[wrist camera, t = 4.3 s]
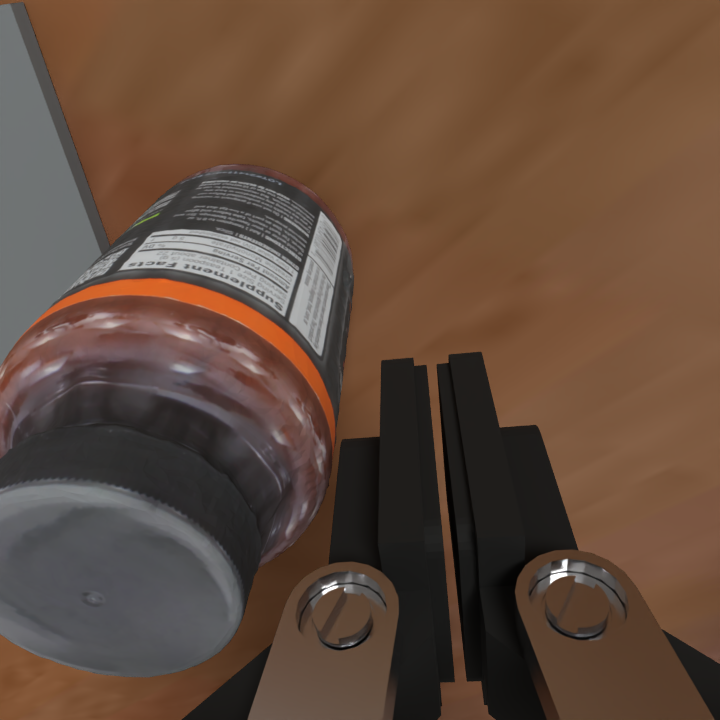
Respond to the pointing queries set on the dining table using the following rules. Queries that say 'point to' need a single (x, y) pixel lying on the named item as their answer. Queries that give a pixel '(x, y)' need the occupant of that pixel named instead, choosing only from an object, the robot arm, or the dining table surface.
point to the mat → (37, 187)
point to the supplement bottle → (172, 424)
